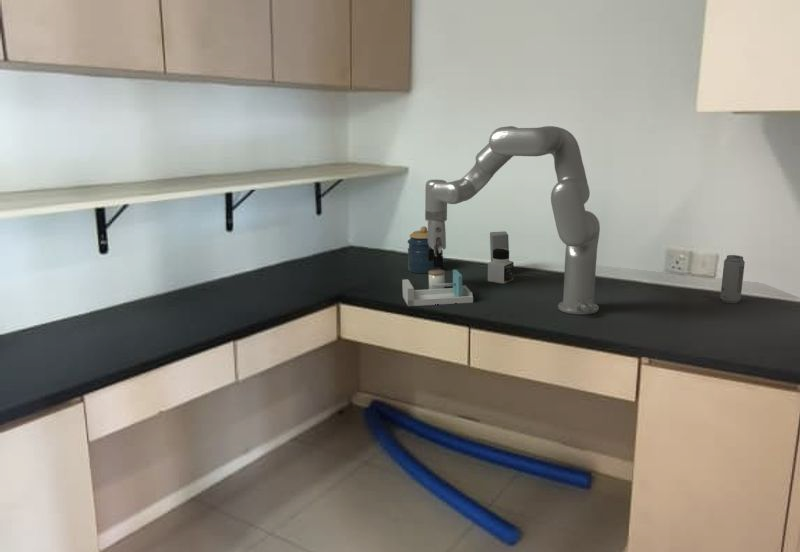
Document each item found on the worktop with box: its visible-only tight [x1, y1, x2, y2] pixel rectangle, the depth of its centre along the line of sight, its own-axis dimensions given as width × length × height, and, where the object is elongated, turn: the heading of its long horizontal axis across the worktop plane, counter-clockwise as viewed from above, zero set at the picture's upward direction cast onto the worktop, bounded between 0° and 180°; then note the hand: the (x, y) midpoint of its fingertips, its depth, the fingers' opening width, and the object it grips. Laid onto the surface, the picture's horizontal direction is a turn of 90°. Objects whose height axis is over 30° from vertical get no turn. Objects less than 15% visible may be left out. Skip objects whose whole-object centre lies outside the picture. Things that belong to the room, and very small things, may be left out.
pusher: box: [432, 269, 463, 297], centre depth 233 cm, size 9×9×8 cm
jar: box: [427, 269, 446, 289], centre depth 244 cm, size 6×6×7 cm
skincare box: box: [489, 230, 510, 262], centre depth 267 cm, size 8×7×16 cm
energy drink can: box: [719, 254, 745, 304], centre depth 224 cm, size 6×6×15 cm
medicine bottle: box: [487, 248, 514, 284], centre depth 255 cm, size 7×7×12 cm
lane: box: [402, 278, 474, 307], centre depth 233 cm, size 12×22×6 cm, turn 98°
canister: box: [407, 225, 441, 274], centre depth 272 cm, size 13×13×18 cm
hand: (435, 263), depth 242 cm, fingers open, 9 cm apart
